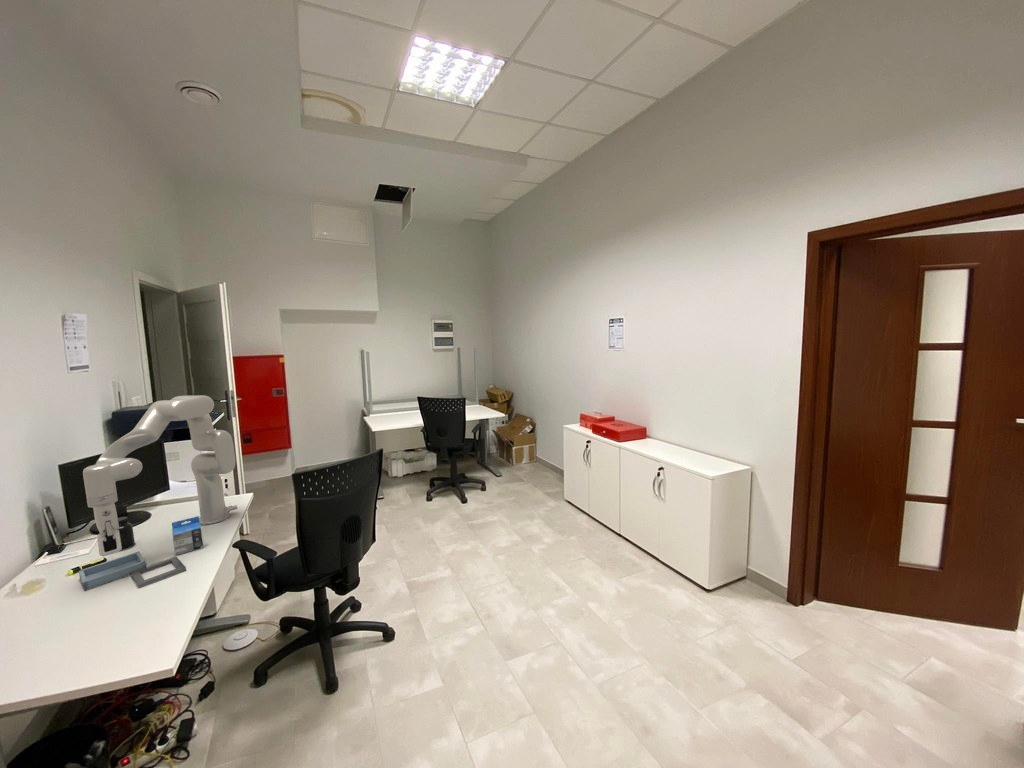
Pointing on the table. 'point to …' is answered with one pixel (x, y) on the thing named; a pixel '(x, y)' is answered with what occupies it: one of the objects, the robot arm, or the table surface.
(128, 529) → the supplement bottle
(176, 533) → the label tape box
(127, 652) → the table surface
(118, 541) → the eye dropper bottle
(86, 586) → the tray
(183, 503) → the table surface
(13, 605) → the table surface
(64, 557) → the photo frame
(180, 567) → the gray square frame
